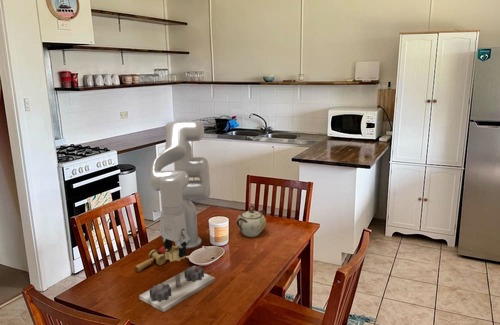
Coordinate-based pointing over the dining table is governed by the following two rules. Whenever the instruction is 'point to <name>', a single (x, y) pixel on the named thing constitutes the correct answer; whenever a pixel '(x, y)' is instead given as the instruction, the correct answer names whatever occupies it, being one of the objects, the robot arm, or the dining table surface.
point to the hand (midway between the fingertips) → (175, 253)
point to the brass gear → (173, 253)
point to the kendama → (153, 255)
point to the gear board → (177, 288)
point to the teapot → (251, 222)
